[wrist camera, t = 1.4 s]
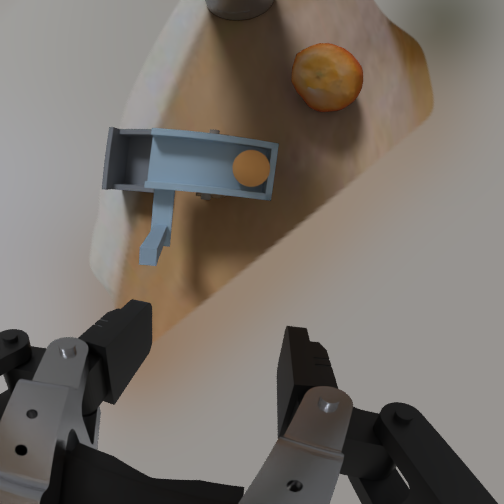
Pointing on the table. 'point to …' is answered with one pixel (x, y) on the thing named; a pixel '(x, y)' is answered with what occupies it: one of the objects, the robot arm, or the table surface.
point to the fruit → (327, 77)
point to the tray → (127, 159)
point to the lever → (195, 176)
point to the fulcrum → (207, 195)
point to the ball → (251, 168)
